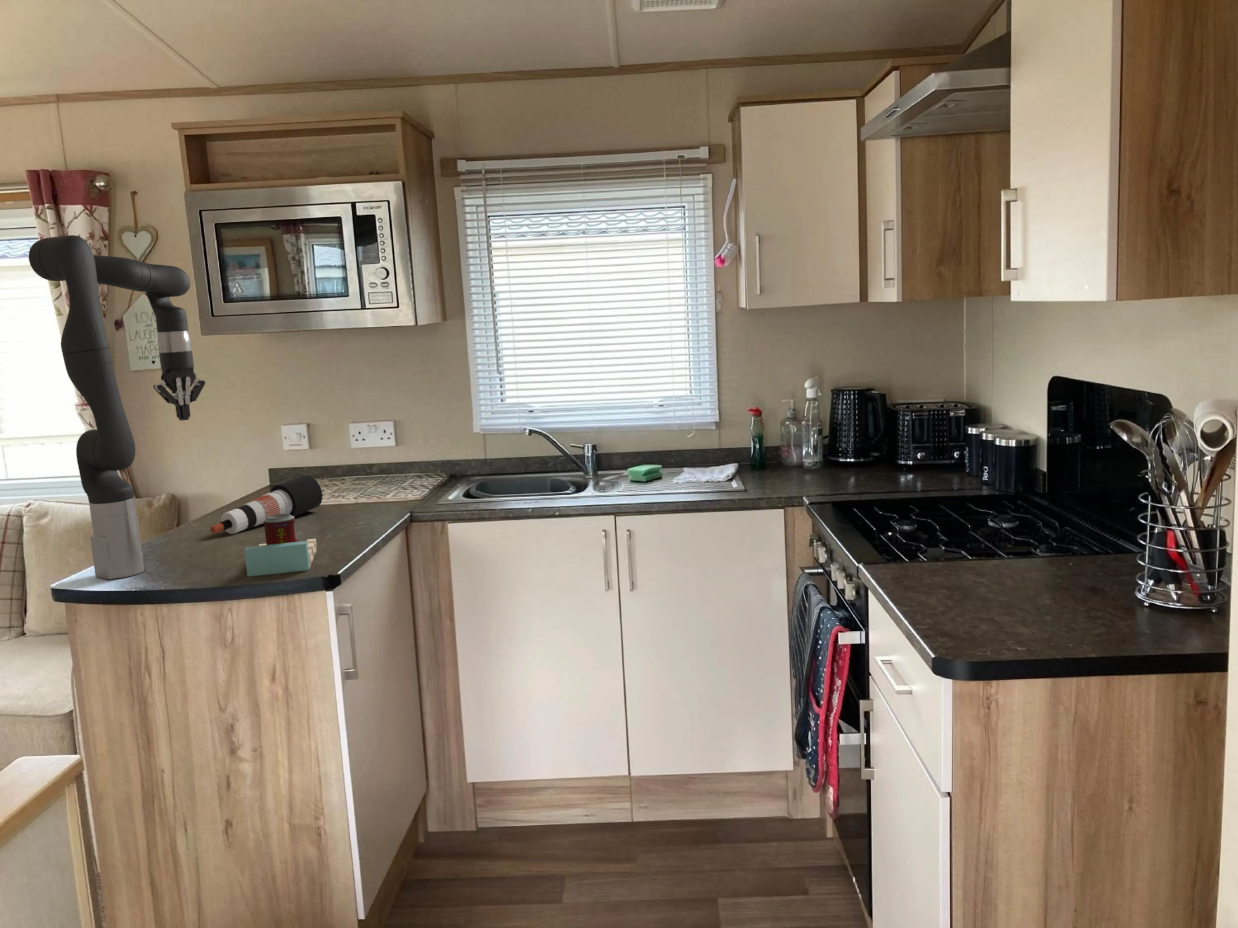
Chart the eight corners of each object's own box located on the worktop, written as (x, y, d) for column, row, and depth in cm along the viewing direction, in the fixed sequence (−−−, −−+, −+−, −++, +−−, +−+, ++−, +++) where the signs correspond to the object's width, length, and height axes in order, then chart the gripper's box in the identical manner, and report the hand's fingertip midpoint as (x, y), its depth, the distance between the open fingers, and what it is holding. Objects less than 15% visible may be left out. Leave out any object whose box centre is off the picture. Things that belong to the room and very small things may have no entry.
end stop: (249, 573, 220) (246, 546, 219) (310, 566, 223) (307, 540, 222) (247, 576, 217) (244, 549, 216) (308, 570, 220) (306, 543, 219)
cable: (212, 554, 261) (193, 520, 261) (308, 513, 289) (291, 483, 289) (232, 539, 255) (212, 505, 255) (327, 499, 284) (310, 469, 284)
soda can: (294, 560, 230) (288, 511, 228) (303, 565, 224) (298, 515, 222) (265, 566, 226) (259, 516, 224) (274, 571, 220) (268, 520, 218)
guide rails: (260, 554, 237) (259, 544, 237) (316, 548, 240) (315, 538, 240) (248, 574, 219) (247, 563, 219) (309, 567, 222) (308, 557, 221)
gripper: (157, 351, 236) (166, 423, 239) (208, 348, 247) (216, 417, 249) (141, 352, 241) (150, 423, 244) (192, 348, 251) (200, 416, 254)
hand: (184, 419), depth 247 cm, fingers closed
